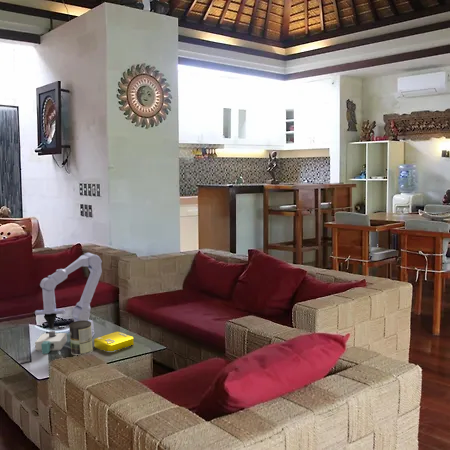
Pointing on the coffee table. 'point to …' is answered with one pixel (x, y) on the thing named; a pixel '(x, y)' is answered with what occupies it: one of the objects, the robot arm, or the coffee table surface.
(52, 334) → the plunger
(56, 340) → the housing
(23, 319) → the coffee table surface
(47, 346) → the block
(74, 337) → the coffee can
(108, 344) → the element tile
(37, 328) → the coffee table surface
